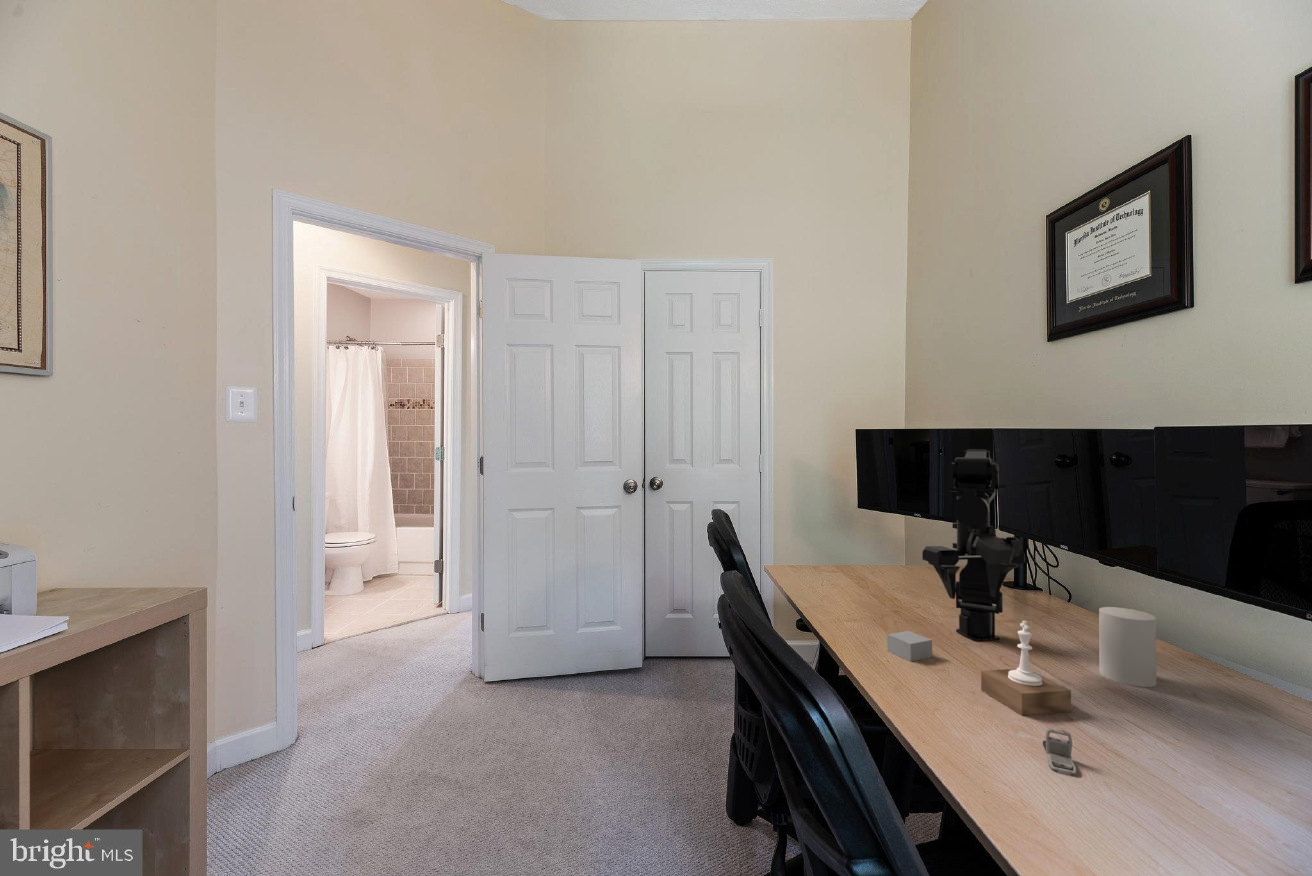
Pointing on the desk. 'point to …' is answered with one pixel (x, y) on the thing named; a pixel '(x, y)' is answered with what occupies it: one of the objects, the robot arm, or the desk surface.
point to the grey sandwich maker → (1059, 753)
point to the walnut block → (1026, 694)
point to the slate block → (909, 645)
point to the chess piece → (1025, 661)
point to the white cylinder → (1127, 646)
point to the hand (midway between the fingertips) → (973, 597)
